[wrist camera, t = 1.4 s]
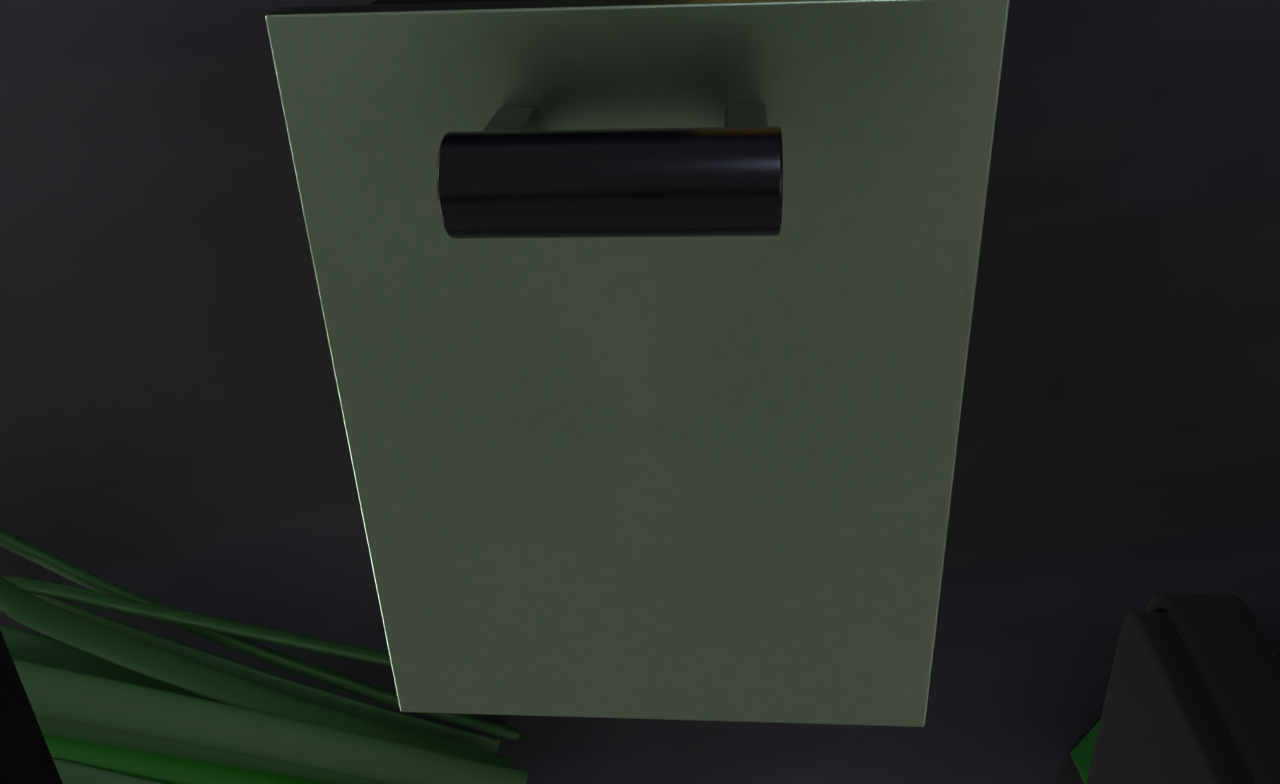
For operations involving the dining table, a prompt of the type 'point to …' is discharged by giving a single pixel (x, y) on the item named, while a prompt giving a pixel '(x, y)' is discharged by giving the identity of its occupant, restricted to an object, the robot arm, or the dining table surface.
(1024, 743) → the dining table surface
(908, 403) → the bin lid
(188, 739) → the daffodil flowers
